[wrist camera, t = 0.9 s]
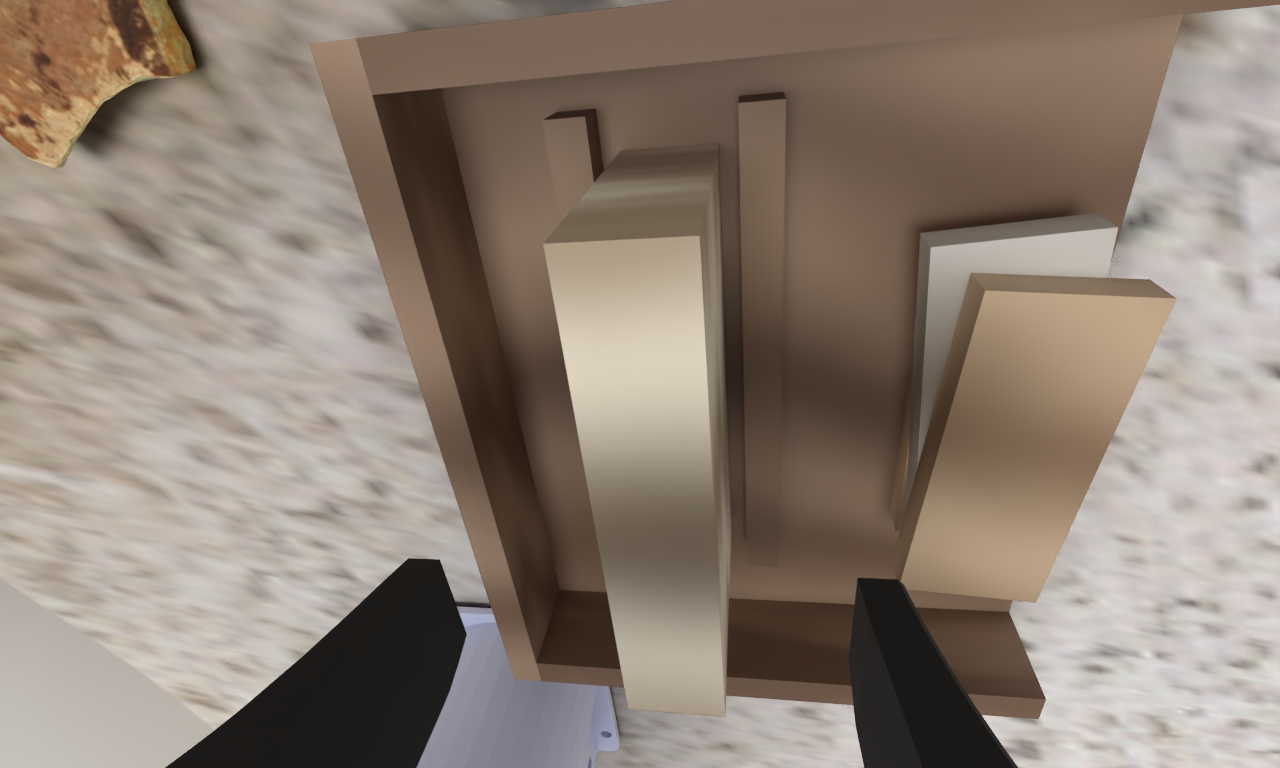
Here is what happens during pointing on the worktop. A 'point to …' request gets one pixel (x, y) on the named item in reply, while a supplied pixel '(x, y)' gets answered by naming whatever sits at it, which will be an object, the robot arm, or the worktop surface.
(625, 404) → the birch sheet
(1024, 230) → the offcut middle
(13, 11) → the shard
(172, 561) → the worktop surface
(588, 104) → the rack
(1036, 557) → the offcut top
